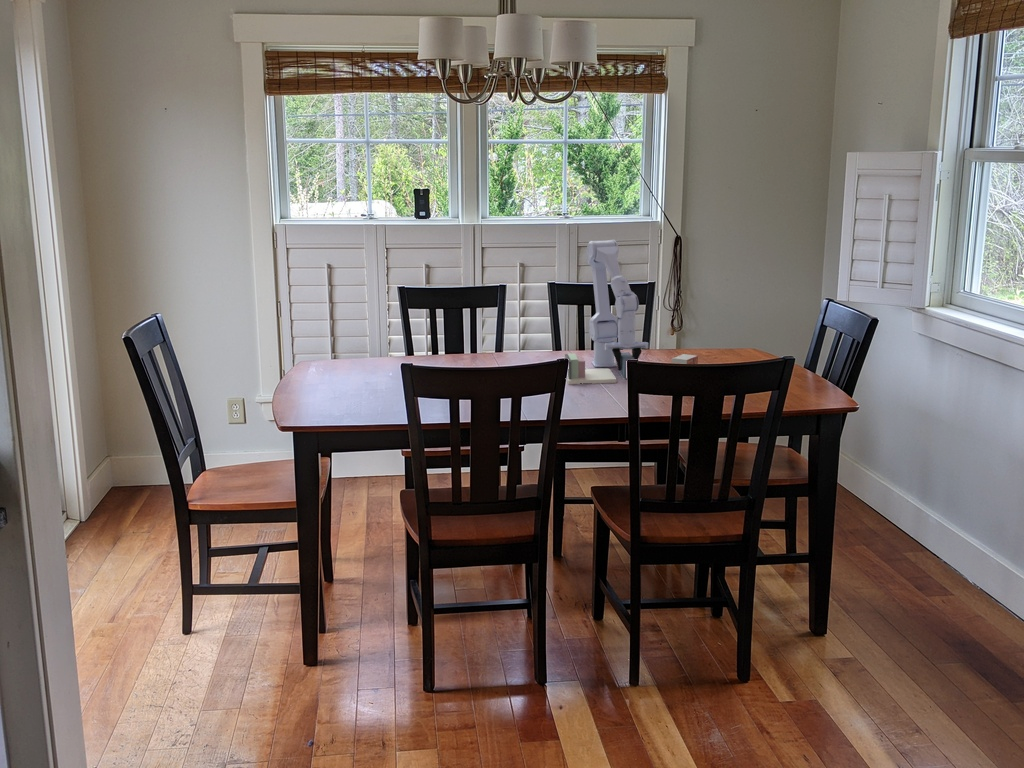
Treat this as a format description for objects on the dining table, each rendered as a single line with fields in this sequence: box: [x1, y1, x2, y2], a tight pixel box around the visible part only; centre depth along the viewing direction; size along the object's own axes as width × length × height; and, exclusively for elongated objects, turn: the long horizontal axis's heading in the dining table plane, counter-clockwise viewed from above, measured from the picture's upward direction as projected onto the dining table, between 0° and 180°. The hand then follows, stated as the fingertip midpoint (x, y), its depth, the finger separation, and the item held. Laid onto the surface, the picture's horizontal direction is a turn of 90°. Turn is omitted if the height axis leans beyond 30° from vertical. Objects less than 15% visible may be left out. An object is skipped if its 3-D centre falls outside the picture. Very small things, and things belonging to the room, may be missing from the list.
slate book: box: [618, 351, 634, 380], centre depth 334 cm, size 10×4×7 cm, turn 4°
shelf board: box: [566, 367, 618, 385], centre depth 332 cm, size 16×16×1 cm
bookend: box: [564, 353, 571, 379], centre depth 331 cm, size 12×1×6 cm, turn 3°
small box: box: [670, 353, 699, 365], centre depth 314 cm, size 8×6×10 cm
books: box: [566, 352, 586, 379], centre depth 331 cm, size 10×5×6 cm, turn 3°
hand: (626, 369), depth 335 cm, fingers open, 4 cm apart
